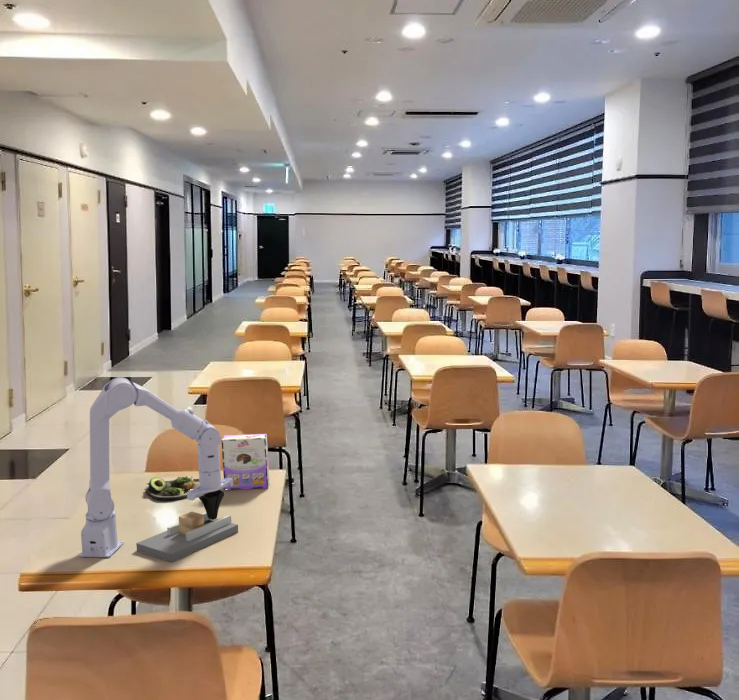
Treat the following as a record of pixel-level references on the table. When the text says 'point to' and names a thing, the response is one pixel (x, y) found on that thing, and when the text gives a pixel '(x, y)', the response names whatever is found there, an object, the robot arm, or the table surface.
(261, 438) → the cake mix box
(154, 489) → the salad plate
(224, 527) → the rail jig base
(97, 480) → the robot arm
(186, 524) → the block
